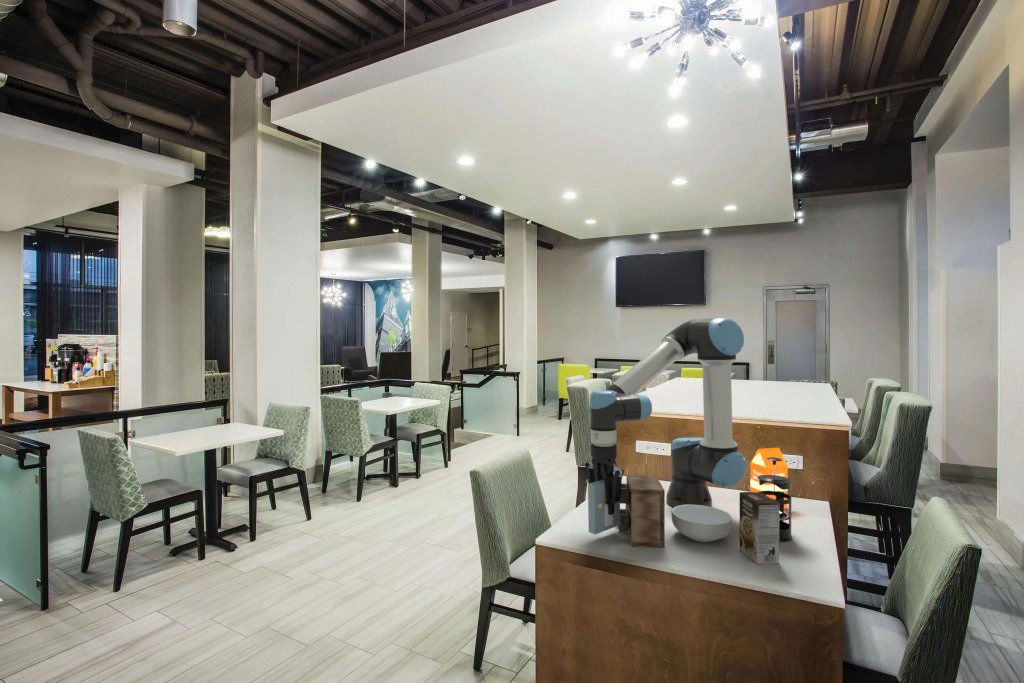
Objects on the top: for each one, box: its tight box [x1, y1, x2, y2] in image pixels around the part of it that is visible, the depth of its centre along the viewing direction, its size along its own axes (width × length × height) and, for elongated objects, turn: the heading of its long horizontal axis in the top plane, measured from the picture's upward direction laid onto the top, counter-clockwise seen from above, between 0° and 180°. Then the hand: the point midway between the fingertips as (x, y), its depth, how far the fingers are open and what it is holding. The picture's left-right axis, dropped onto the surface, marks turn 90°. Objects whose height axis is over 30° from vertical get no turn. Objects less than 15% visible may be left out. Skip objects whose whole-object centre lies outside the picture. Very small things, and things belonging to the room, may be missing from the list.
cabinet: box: [618, 475, 666, 548], centre depth 152 cm, size 12×16×16 cm
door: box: [587, 480, 621, 535], centre depth 150 cm, size 11×4×14 cm, turn 128°
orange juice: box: [749, 447, 789, 509], centre depth 178 cm, size 8×9×20 cm
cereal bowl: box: [671, 505, 733, 543], centre depth 151 cm, size 17×17×7 cm
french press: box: [758, 457, 793, 543], centre depth 152 cm, size 12×9×23 cm
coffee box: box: [738, 491, 780, 565], centre depth 137 cm, size 9×6×16 cm
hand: (604, 523), depth 151 cm, fingers closed on door, 2 cm apart
